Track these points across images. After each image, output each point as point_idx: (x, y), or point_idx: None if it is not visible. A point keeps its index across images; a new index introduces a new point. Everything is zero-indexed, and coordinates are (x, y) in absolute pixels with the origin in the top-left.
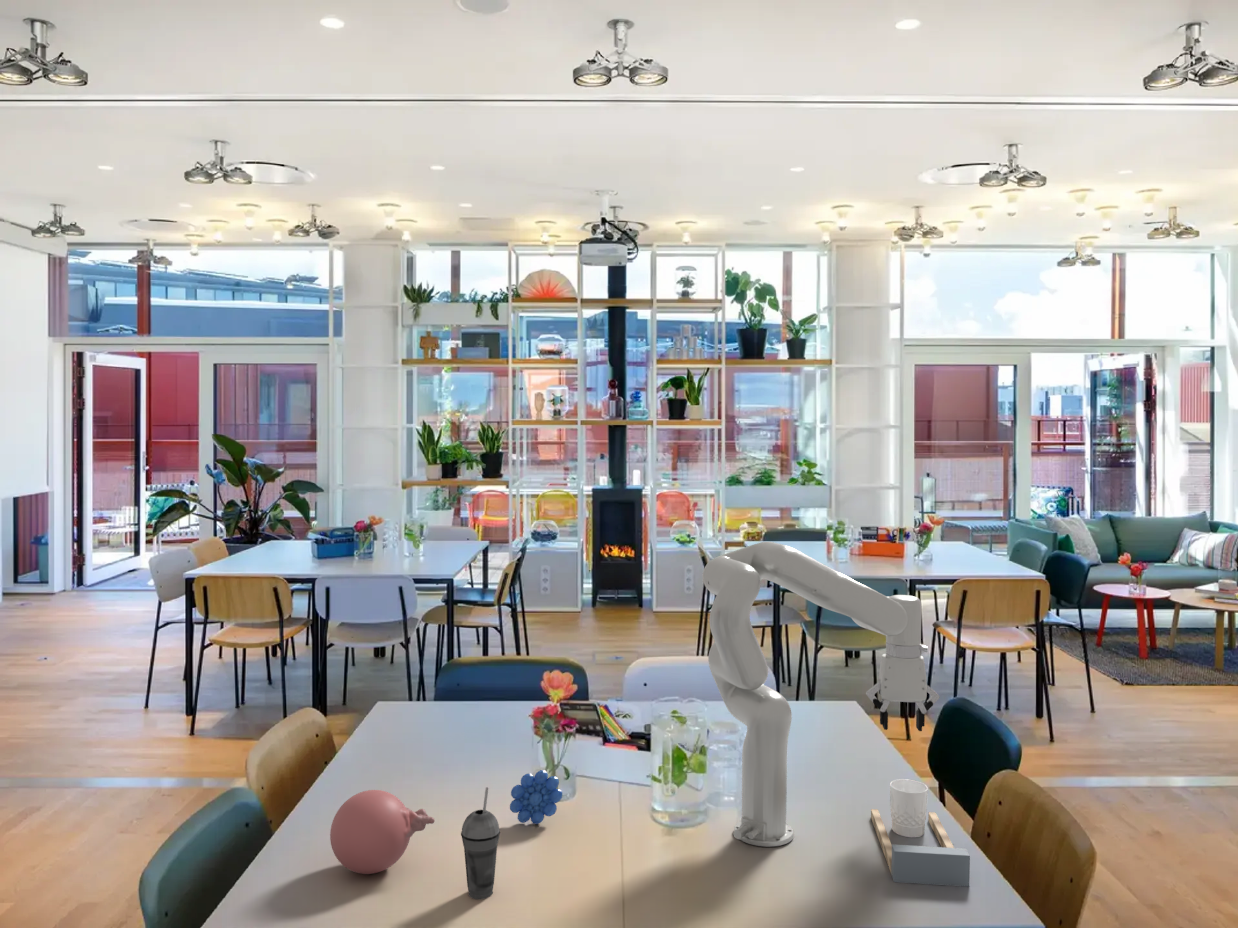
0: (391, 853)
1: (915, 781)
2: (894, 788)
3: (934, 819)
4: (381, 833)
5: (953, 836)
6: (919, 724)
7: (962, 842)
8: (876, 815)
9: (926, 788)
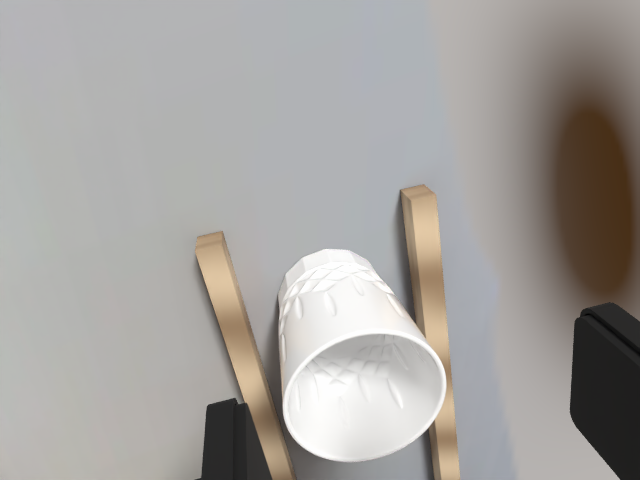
0: None
1: (399, 336)
2: (305, 447)
3: (424, 258)
4: None
5: (464, 280)
6: (620, 471)
7: (482, 310)
8: (223, 299)
9: (439, 383)
